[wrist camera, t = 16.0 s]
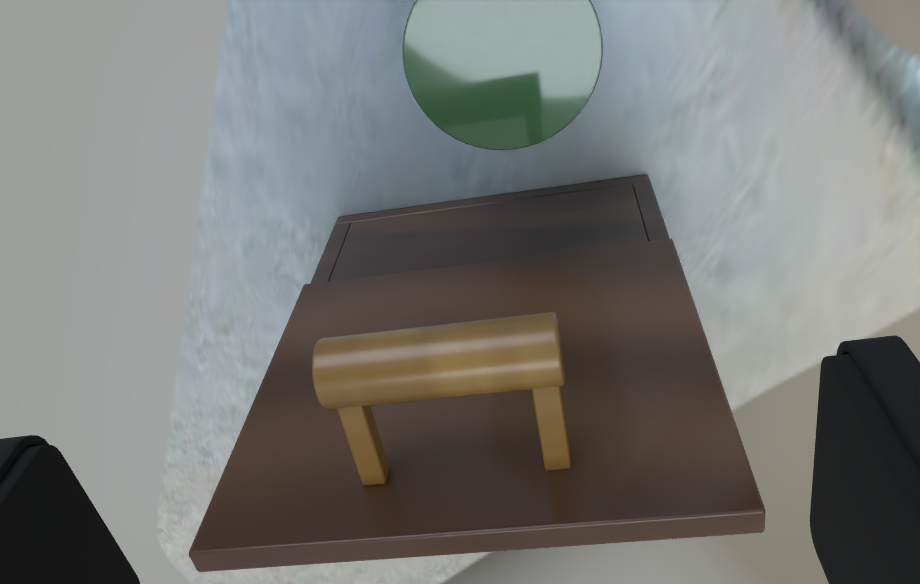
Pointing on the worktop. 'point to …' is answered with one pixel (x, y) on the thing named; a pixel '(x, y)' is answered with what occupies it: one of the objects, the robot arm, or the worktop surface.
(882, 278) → the worktop surface
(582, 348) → the lid
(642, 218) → the chest
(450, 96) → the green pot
